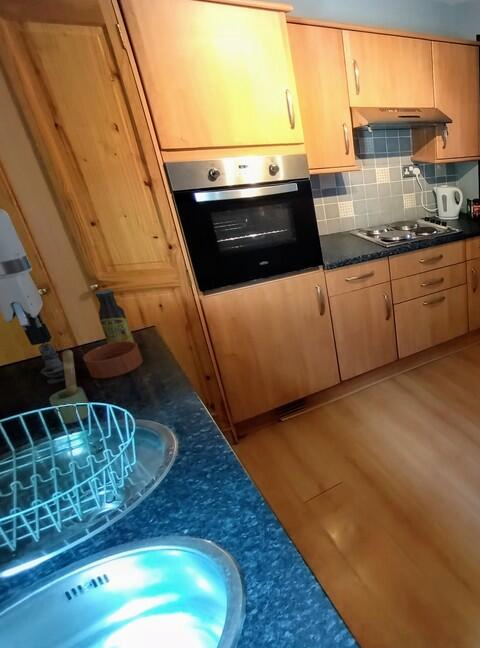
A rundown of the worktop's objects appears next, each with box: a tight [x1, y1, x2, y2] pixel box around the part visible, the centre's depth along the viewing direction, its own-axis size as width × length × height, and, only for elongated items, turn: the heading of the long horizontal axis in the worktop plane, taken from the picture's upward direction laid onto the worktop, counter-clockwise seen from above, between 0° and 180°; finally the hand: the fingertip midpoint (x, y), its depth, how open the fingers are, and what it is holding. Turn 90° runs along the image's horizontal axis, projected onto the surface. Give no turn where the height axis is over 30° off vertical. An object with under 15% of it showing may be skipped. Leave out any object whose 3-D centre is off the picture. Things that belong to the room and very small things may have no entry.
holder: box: [48, 386, 90, 424], centre depth 111 cm, size 6×6×7 cm
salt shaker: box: [38, 342, 66, 385], centre depth 126 cm, size 6×6×12 cm
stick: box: [61, 349, 78, 397], centre depth 110 cm, size 2×2×18 cm
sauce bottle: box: [95, 288, 135, 344], centre depth 140 cm, size 7×6×20 cm
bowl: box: [82, 341, 144, 379], centre depth 132 cm, size 12×12×6 cm
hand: (41, 341), depth 104 cm, fingers closed
